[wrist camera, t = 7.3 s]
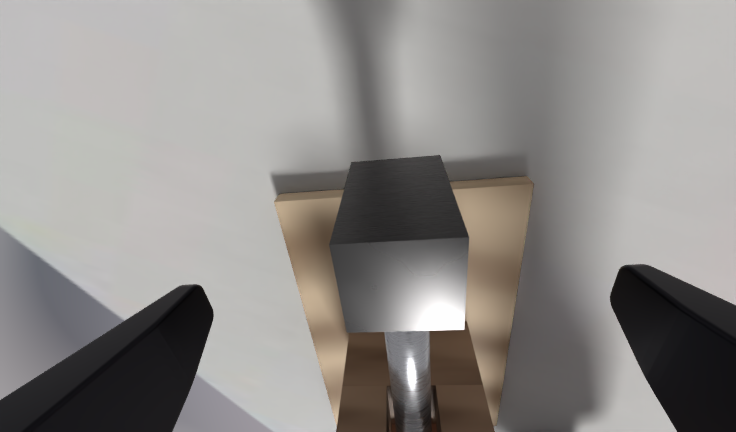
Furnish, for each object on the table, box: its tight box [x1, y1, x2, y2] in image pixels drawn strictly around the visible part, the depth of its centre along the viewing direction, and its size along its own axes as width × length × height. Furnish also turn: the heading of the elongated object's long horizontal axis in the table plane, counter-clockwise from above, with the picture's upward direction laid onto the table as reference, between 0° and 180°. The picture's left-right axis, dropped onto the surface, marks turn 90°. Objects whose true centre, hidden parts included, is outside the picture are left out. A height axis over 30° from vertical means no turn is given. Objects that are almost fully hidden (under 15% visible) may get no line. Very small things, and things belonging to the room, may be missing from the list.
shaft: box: [329, 155, 469, 432], centre depth 14 cm, size 16×3×5 cm, turn 6°
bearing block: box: [336, 321, 495, 432], centre depth 21 cm, size 4×8×8 cm, turn 96°
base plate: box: [274, 176, 534, 426], centre depth 24 cm, size 23×14×1 cm, turn 6°
